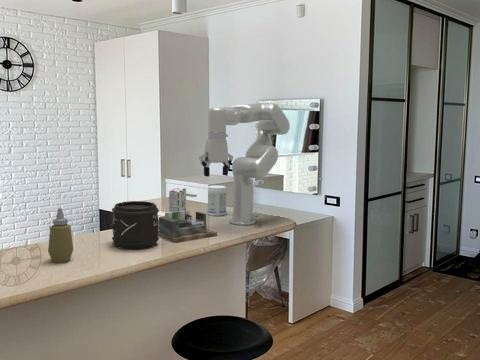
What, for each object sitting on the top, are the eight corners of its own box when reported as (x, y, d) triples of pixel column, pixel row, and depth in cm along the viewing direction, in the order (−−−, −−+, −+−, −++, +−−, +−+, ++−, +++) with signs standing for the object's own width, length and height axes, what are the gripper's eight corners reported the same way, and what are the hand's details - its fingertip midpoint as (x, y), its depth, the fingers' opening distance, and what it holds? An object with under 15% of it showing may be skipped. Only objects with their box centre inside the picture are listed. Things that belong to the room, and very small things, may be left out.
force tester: (195, 228, 213) (195, 208, 212) (217, 235, 201) (217, 214, 199) (154, 234, 199) (154, 213, 198) (174, 242, 187) (175, 220, 186)
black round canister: (107, 240, 188) (107, 201, 186) (152, 237, 195) (152, 199, 193) (113, 252, 172) (113, 210, 170) (162, 248, 179) (162, 207, 177)
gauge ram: (193, 225, 210) (194, 210, 209) (205, 229, 203) (206, 213, 202) (180, 227, 205) (180, 212, 204) (191, 232, 198) (192, 215, 197)
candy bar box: (176, 221, 226) (176, 187, 224) (186, 222, 225) (186, 188, 223) (168, 226, 216) (168, 190, 213) (178, 227, 215) (179, 191, 213)
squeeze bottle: (52, 256, 164) (51, 206, 162) (76, 256, 165) (75, 206, 163) (45, 263, 156) (43, 210, 154) (70, 264, 157) (69, 210, 155)
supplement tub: (224, 212, 251) (224, 185, 249) (227, 216, 242) (228, 187, 240) (206, 212, 249) (206, 185, 247) (208, 216, 239) (209, 187, 238)
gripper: (228, 136, 213) (227, 174, 215) (195, 136, 203) (194, 175, 205) (238, 137, 207) (237, 175, 209) (204, 136, 197) (203, 177, 199)
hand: (216, 175), depth 207 cm, fingers open, 9 cm apart
